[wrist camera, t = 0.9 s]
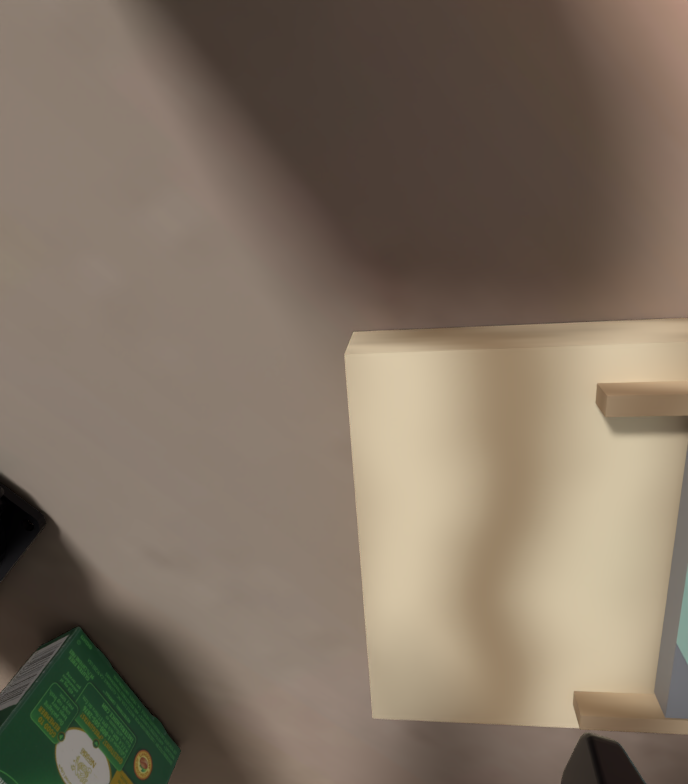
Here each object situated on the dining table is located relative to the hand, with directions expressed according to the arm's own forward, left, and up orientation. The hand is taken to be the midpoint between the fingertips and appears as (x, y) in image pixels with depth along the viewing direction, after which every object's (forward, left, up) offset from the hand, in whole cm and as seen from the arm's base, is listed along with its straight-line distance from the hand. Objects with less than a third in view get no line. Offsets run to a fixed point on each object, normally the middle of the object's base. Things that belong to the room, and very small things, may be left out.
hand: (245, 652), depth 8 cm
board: (+3, -12, -13) cm, 18 cm away
